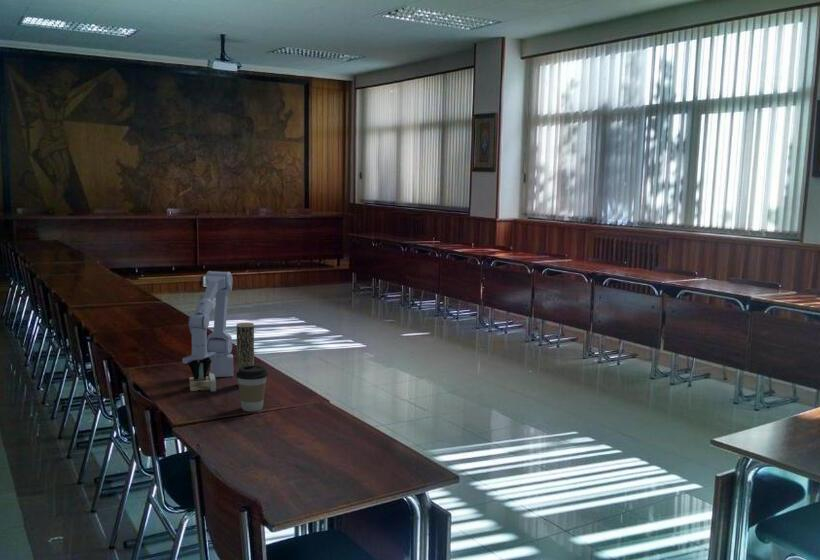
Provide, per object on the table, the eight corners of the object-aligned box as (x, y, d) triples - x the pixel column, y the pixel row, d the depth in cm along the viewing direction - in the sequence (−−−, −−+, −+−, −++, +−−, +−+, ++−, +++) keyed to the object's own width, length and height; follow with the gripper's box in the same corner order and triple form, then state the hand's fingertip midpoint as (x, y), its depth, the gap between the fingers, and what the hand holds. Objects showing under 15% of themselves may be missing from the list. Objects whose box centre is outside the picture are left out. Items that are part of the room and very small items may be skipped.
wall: (214, 382, 302) (213, 373, 302) (216, 391, 291) (215, 381, 290) (208, 383, 302) (208, 373, 301) (210, 391, 290) (210, 381, 290)
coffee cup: (251, 402, 278) (251, 363, 276) (274, 407, 272) (274, 367, 270) (229, 409, 268) (229, 369, 266) (253, 415, 262) (252, 374, 260)
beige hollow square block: (209, 384, 300) (209, 376, 299) (210, 389, 292) (210, 381, 292) (189, 385, 297) (189, 377, 297) (190, 391, 290) (190, 382, 290)
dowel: (201, 381, 297) (201, 362, 296) (205, 383, 294) (204, 363, 293) (194, 383, 295) (194, 363, 294) (198, 384, 292) (197, 364, 291)
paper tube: (256, 383, 303) (256, 323, 300) (251, 387, 297) (250, 326, 293) (240, 382, 304) (239, 322, 301) (234, 386, 297) (234, 325, 294)
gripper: (208, 340, 301) (208, 372, 302) (177, 345, 289) (178, 379, 291) (219, 342, 296) (219, 375, 298) (188, 348, 285) (189, 383, 287)
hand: (199, 377), depth 294 cm, fingers closed on dowel, 3 cm apart
